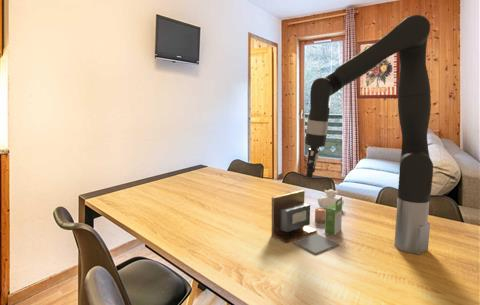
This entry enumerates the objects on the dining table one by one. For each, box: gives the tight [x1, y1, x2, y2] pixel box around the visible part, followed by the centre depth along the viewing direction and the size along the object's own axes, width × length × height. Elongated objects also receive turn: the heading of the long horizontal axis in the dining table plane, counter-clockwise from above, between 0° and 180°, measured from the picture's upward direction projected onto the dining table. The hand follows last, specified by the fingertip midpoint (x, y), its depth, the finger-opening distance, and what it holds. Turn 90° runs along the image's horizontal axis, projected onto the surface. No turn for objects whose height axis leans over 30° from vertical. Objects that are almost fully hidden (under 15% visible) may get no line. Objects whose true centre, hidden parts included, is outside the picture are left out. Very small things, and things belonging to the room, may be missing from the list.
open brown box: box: [271, 189, 318, 244], centre depth 114 cm, size 8×16×15 cm, turn 124°
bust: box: [317, 188, 345, 210], centre depth 140 cm, size 12×8×11 cm
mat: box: [293, 233, 340, 256], centre depth 106 cm, size 10×12×1 cm
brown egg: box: [314, 207, 326, 224], centre depth 127 cm, size 4×4×5 cm
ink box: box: [324, 196, 343, 236], centre depth 116 cm, size 7×4×13 cm, turn 141°
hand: (310, 174), depth 115 cm, fingers open, 8 cm apart
